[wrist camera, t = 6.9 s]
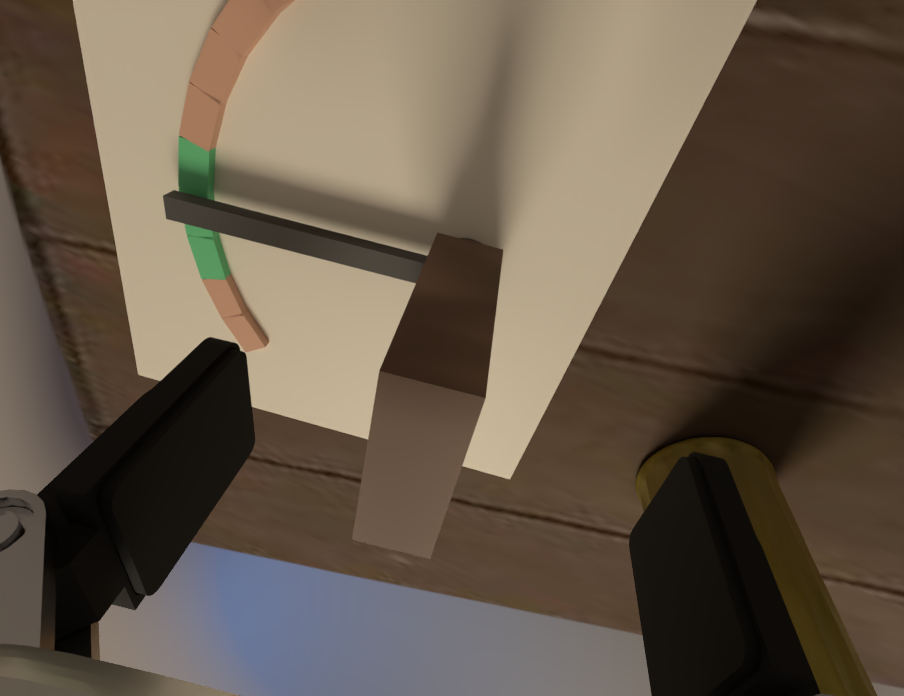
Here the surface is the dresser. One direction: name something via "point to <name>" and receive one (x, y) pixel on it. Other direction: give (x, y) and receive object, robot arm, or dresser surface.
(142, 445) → the robot arm
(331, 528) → the dresser surface
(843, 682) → the vase
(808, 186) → the dresser surface
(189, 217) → the tuner needle gauge
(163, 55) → the board
